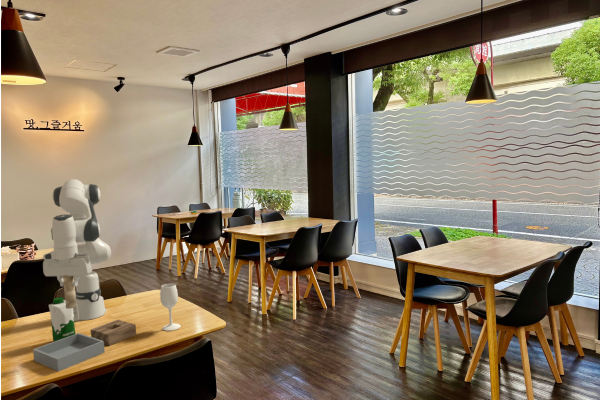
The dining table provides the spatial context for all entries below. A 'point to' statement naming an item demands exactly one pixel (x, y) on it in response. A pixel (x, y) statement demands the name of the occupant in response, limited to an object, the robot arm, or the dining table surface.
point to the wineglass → (169, 303)
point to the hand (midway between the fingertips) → (69, 285)
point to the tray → (68, 351)
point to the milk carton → (61, 319)
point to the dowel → (69, 292)
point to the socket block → (114, 332)
